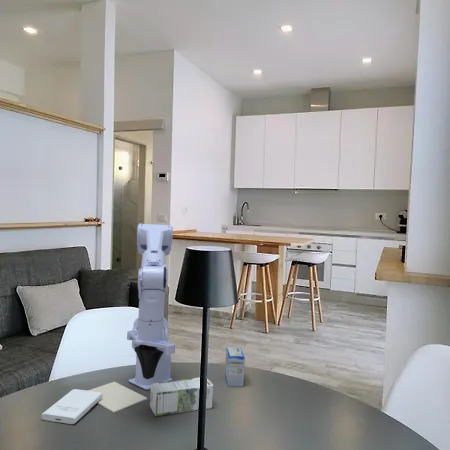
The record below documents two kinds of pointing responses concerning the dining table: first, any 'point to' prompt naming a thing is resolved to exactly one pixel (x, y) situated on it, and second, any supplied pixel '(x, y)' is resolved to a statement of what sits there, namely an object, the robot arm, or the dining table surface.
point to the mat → (117, 397)
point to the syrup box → (178, 396)
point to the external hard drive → (72, 406)
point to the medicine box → (234, 367)
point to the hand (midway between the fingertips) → (148, 377)
